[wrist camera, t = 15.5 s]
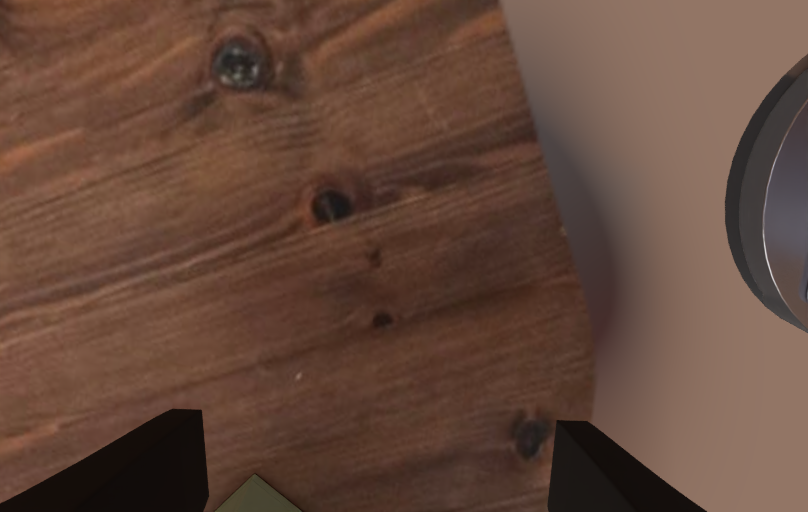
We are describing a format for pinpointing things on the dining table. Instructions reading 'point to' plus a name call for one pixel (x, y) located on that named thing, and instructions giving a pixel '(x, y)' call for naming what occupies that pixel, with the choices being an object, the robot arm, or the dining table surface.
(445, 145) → the dining table surface
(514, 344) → the dining table surface
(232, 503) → the desk tidy
